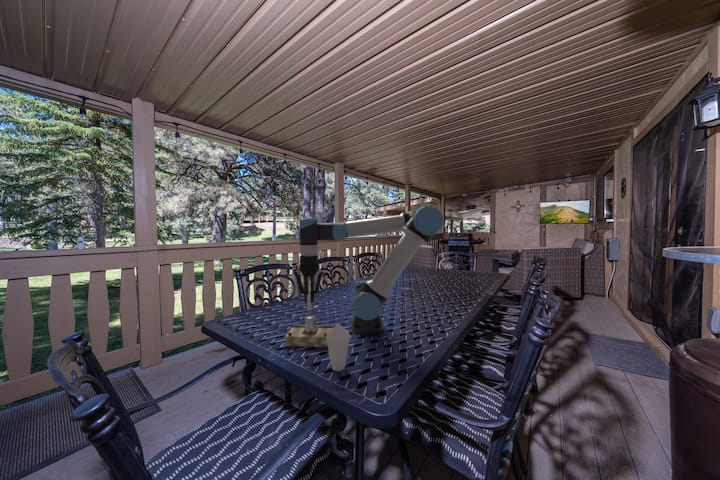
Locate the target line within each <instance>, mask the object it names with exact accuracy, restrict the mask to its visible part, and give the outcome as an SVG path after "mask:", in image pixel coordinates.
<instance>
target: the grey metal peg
mask: <svg viewBox="0 0 720 480" xmlns="http://www.w3.org/2000/svg"><path fill="white" fill-rule="evenodd" d="M304 323H305V324H304V325H305V331H306V334H316V325H317V324H316V323H317V319H316V316H315V315H307V316H305V317H304Z"/></svg>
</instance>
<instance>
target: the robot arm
mask: <svg viewBox="0 0 720 480" xmlns="http://www.w3.org/2000/svg"><path fill="white" fill-rule="evenodd" d="M443 225H444V216H443V214H442V212H441V210H440V209H438V208H437V207H436V206H432V205H427V204H426V205H422V206H420V207H418V208H415V209H413V210H408V211H403V212H401V213H400V214H398V215H389V216H381V217H373V218H366V219H365V218H364V219H356V220H350V221H341V222H318V219H317V218H315V217H313V218H309V217H308V218H307V217H304V218H300V220H299V228H298V230H299V254H300V255H299V267H298V269H297V270H295V271H293V275H294V276H295V278H296V282H297V285H298V286H297V287H298V290H299V293H300V294H301V295H304V302H305V303H306V311H307V312H310V311H312V309H313V303H314V302H315V295H317V294H318V293H319V292H320V286H321V282H322V278H323V276H324V274H325V271H324V270H322V269H320V266H319V255H318V253H319V249H318V246H319V245H318V244H319V243H318V241H320V242H321V241H322V242H323V241H324V242H325V241H326V242H329V241H332V242H333V241H335V242H339V241H340V242H341V241H345V240H346V239H348V238H354V237H355V238H356V237H365V236H374V235H380V234H382V235H383V234H390V233H399V232H402V233H403V234H402V236H401V237H400V238H399V239H398V241H397V242H396V244H395V245H394V247H393V248H392V249H391V251H390V252H389V254H388V255H387V257H386V258H385V259H384V260H383V262H382V264H381V265H380V266H379V268H378V269H377V271H376V272H375V274H374V275H373V276H372V278H371V279H366V280H356V281H355V283H354V295H353V296H354V297H353V299H352V302H351V303H352V304H351V306H352V311H353V313H354V314H353V315H354V316H353V319H352V320H351V321H352V322H351V331H352V332H353V333H356V334H358V335H364V336H365V335H366V336H371V335H377V334H380V333H381V332H383V331H384V322H383V320H382V316H381V311H382V307H383V306H384V304H385V303H386V301H387V300H388V298H389V291H390V289H391V288H392V286H393V285H394V284H395V282H397V279H398V278H399V277H400V276H401V274H402V273H403V271H404V270H405V268H406V267H407V266H408V264H409V263H410V262H411V260H413V257H414V256H415V255H416V254H417V252H418V251H419V249H420V247H421V246H422V245H427V244H429V242H430V240H431V239H432V238H433V236H434V235H436V234H437V233H439V232H440V231H441V229H442V227H443ZM301 274H302V276H303V281H302V277H301ZM316 275H318V276H317V279H316V283H315V276H316ZM315 284H316V285H315ZM309 287H310V288H309Z"/></svg>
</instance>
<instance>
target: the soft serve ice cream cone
mask: <svg viewBox="0 0 720 480" xmlns="http://www.w3.org/2000/svg"><path fill="white" fill-rule="evenodd" d="M326 335H327V336H326V339H327V342H328V347H327V348H328V356H329V361H330V365H331V369H332V370H333V371H335V372H342V371H343V370H345V367H346V361H347V356H348V353H349V352H348V350H349V349H348V348H349V343H350V341H351V334H350V332H349V331H348V330H347V329H345V328H344V327H343V326H342V325H341V324H340V323H338V322H337V323H336V324H335V326H333V328H332V329H331V330H330V331H329V333H327V334H326Z"/></svg>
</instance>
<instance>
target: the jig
mask: <svg viewBox="0 0 720 480" xmlns="http://www.w3.org/2000/svg"><path fill="white" fill-rule="evenodd" d="M332 328H334V324H316V334H306V331H305V324H297V323H296V324H293V325H292V327H291V329H290V330H289V331H288V332H287V333H286V335H285V336H284V345H285V347H308V348H309V347H312V348H316V347H317V348H328V342H327V339H326V336H327V335H326V334H327V333H329V331H330V330H331V329H332Z"/></svg>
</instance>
